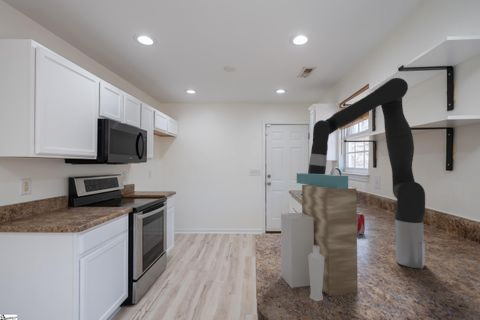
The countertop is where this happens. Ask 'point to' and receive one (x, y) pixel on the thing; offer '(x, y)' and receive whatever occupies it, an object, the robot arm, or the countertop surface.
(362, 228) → the soda can
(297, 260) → the white block
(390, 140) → the robot arm
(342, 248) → the maple stand
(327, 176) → the teal bar
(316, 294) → the perfume bottle
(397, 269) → the countertop surface
